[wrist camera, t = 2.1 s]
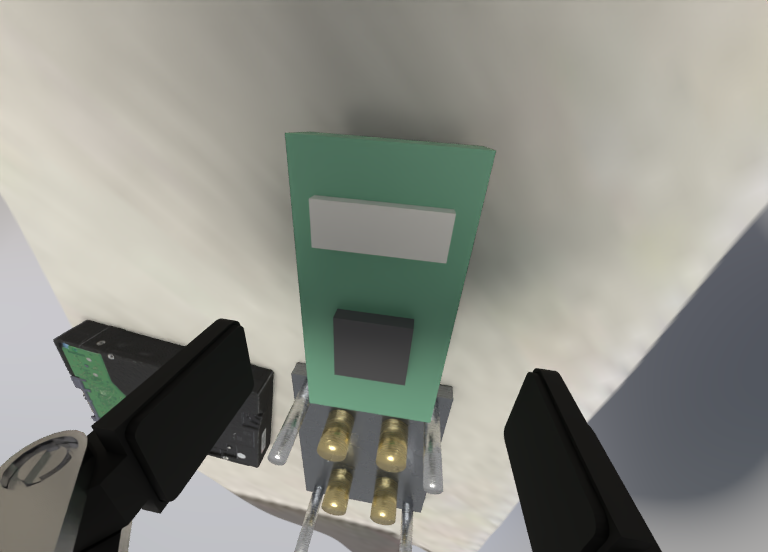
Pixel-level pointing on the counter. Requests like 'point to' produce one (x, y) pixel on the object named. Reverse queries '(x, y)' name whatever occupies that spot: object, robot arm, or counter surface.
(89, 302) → the counter surface
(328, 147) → the board
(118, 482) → the robot arm
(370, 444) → the chassis
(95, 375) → the disk drive
